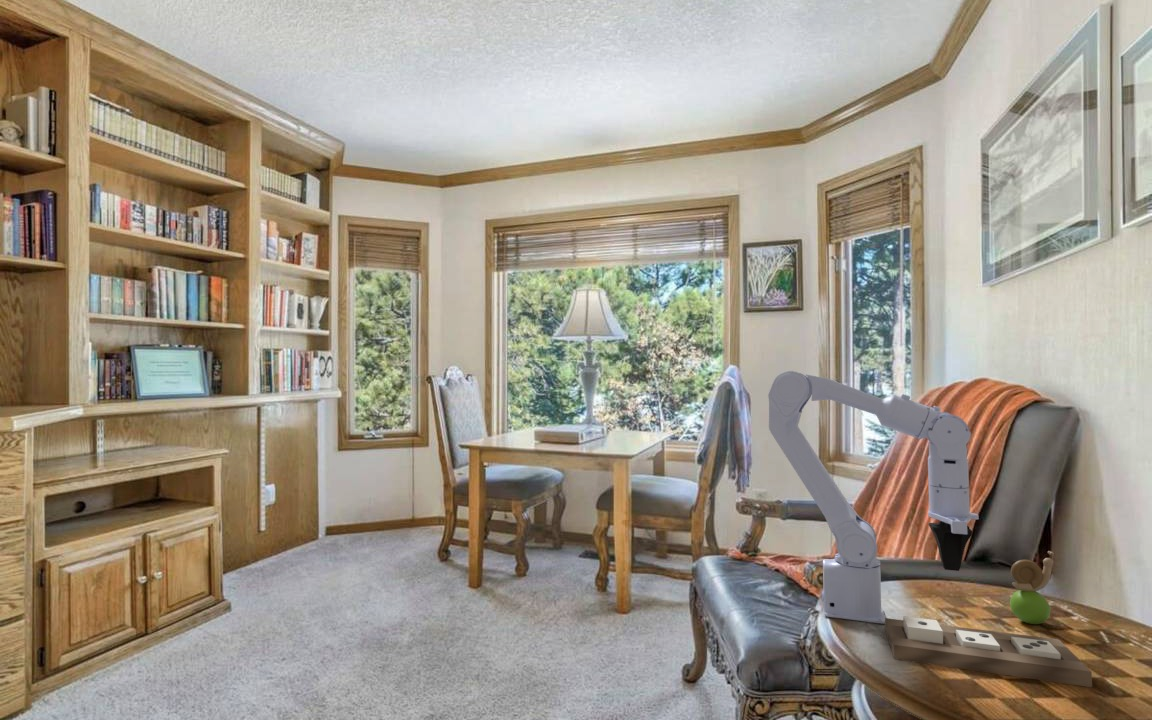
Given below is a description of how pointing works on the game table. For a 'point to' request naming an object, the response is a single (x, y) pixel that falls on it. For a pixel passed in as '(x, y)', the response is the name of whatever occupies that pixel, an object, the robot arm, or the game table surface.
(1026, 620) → the snail figurine
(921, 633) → the tile one pip
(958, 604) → the game table surface
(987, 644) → the tile two pips
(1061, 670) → the key board
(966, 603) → the game table surface
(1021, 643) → the tile three pips
